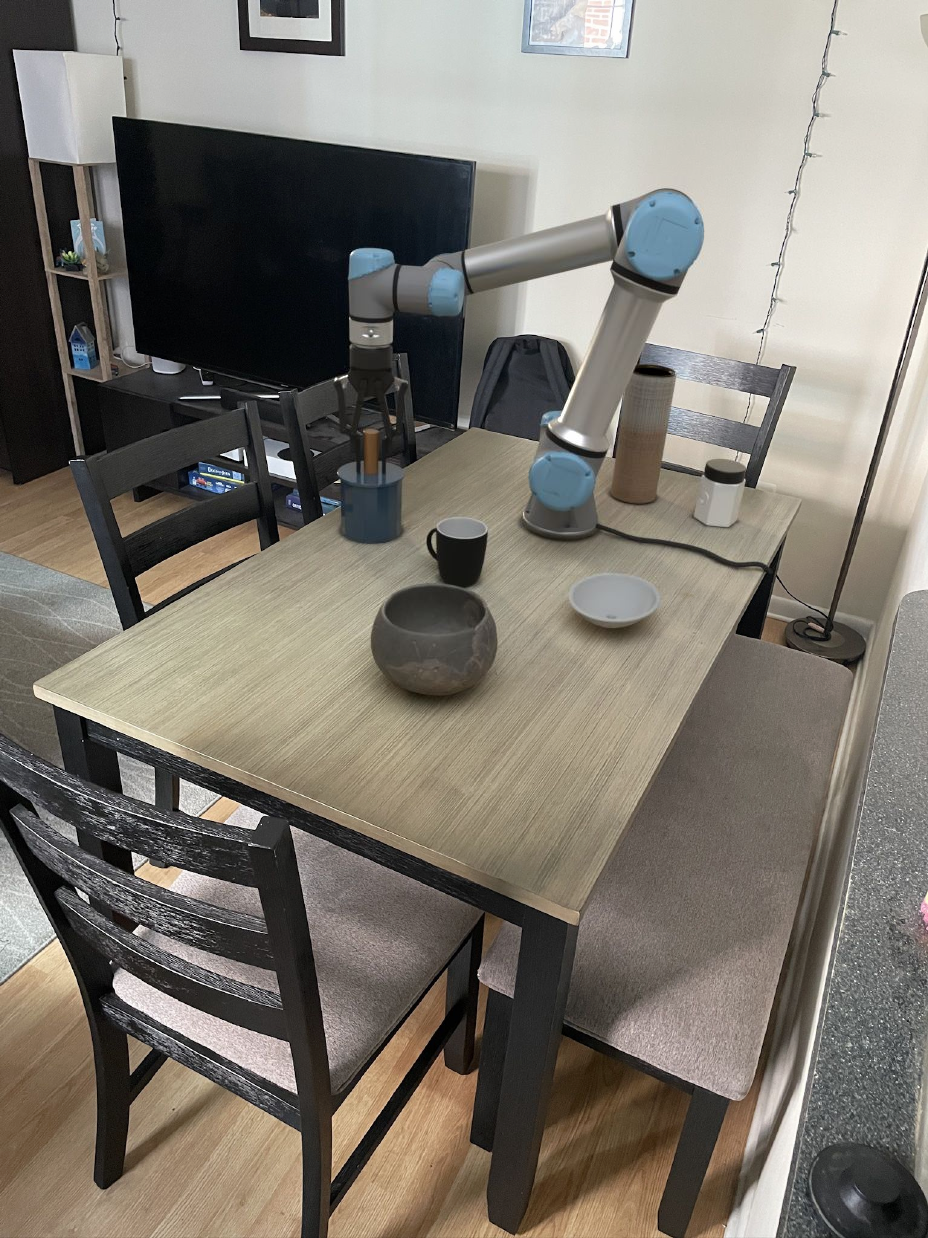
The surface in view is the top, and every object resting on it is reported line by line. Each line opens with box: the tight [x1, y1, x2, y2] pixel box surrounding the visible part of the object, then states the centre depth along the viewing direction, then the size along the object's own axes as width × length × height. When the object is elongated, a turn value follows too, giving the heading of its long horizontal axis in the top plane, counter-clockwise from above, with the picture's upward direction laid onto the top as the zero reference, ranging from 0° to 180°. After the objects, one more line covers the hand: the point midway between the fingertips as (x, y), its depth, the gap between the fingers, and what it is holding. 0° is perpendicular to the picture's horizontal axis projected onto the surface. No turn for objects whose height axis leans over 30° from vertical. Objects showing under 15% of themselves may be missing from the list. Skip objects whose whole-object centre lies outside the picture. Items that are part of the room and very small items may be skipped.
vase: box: [610, 363, 678, 505], centre depth 190 cm, size 10×10×28 cm
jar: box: [693, 458, 747, 528], centre depth 185 cm, size 9×8×12 cm
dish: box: [567, 572, 661, 629], centre depth 147 cm, size 18×14×5 cm
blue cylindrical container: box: [339, 479, 403, 544], centre depth 172 cm, size 12×12×12 cm
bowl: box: [370, 582, 499, 696], centre depth 127 cm, size 18×18×13 cm
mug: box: [425, 516, 489, 588], centre depth 157 cm, size 12×9×10 cm
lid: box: [337, 428, 405, 488], centre depth 167 cm, size 13×13×9 cm
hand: (371, 469), depth 168 cm, fingers open, 4 cm apart
